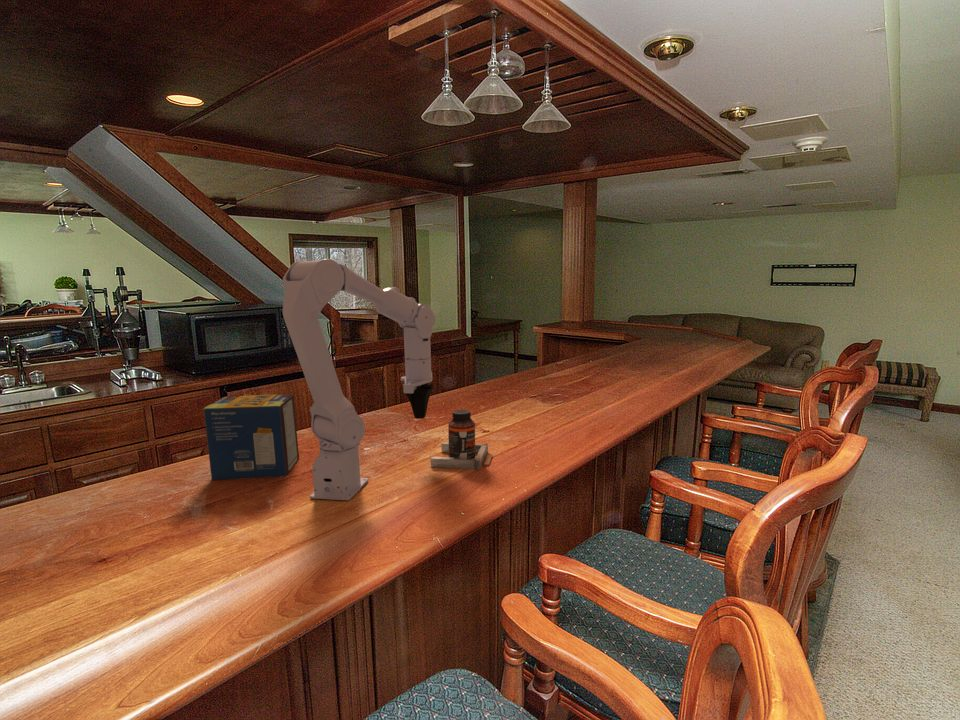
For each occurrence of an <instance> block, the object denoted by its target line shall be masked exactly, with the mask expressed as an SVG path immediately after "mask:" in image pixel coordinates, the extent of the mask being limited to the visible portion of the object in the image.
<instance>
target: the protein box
mask: <svg viewBox="0 0 960 720" xmlns="http://www.w3.org/2000/svg"><path fill="white" fill-rule="evenodd" d="M202 410H203V415H204V424H205V433H206V441H207V442H206V443H207V451H208V459H209V467H210V477H211V481H218V480H221V481H222V480H238V479H239V480H240V478H243V479H257V478H258V479H259V478H260V477H262V478H279V477H280V476H282V477H286V476H287V475H288V474H289V473H290V472H291V470H292V469H293V468H294V466H295V465H296V464H297V462H298V460H300V453H299V443H298V432H297V421H296V411H295V400H294V394H293V393H282V394H281V393H280V394H260V395H259V394H254V395H235V396H234V395H233V396H232V395H231V396H229V395H228V396H222V397H221V398H219V399H217V400H216V401H214V402H213V403H211V404H209V405H207V406H205V407H204V408H203V409H202Z"/></svg>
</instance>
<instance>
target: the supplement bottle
mask: <svg viewBox="0 0 960 720" xmlns="http://www.w3.org/2000/svg"><path fill="white" fill-rule="evenodd" d="M471 414H472V413H471V411H470V410H469V409H455V410H453V411H452V417H451V418H452V419H451V420H449V422H448V429H447V430H448V431H447V432H448V442H449V452H448V457H453V458H476V453H475V443H476V423H475V421H474V420H472V418H471V417H472V415H471Z"/></svg>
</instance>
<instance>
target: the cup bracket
mask: <svg viewBox="0 0 960 720" xmlns="http://www.w3.org/2000/svg"><path fill="white" fill-rule="evenodd" d="M440 445H441V453H449V441H442V442H441V444H440ZM488 445H489V444H488V443H479V442H477V443H476V442H475V454H476V455H475V458H453V457H449V456H431V457H430V468H434V467H444V468H443V469H455V468H459V469H460V470H461V469H462V470H479V471H480V470H481V468H482V466H488V467H489V466H490V464H491V462H492V459H493V456H494V455H493V454H488V453H489V451H488V450H489V446H488Z"/></svg>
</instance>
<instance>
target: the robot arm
mask: <svg viewBox="0 0 960 720" xmlns="http://www.w3.org/2000/svg"><path fill="white" fill-rule="evenodd" d="M282 281H283V285H284V293H283V294H284V296H283V303H282V316H283V320H284V323H285V326H286V328H287V331H288V334H289V336H290V339H291V342H292V345H293V347H294V348H293V349H294V350H295V352H296V355H297V358H298V359H297V360H298V361H299V365H300V367H301V369H302V373H303V376H304V378H305V381H306V383H307V386H308V390H309V393H310V394H311V397H312V400H313V403H312V405H311V406H310V407H309V412H310V416H311V422H310V425H311V427H310V428H311V432H312V433H313V434H314V436H315V437H317V438H318V439H317V440H318V444H319V453H318V456H317V457H316V458H315V460H314V461H313V464H312V466H311V467H312V469H311V470H312V481H313V482H312V483H313V492H312V493H311V494H310V495H309V499H317V500H320V499H321V500H334V501H335V500H336V501H337V500H338V501H350V500H351V499H352V498H354V496H355V495H356V494H357V493H358V492H359V491H360V490H361V488H363V487H364V486H365V485H366V484H367V483H368V482H369V478H368V477H361V467H360V450H359V447H360V446H361V445H360V444H361V441H362V439H363V437H364V435H365V431H366V425H365V422H364V420H363V418H362V417H361V416H359V414H358V413H357V411H356V408H355V406H354V405H353V403H351V401H349V399H347V397H345V395H344V392H343V389H342V387H341V384H340V381H339V378H338V375H337V371H336V368H335V366H334V363H333V360H332V358H331V357H332V356H331V354H330V351H329V348H328V346H327V342H326V340H325V336H324V333H323V330H322V328H321V323H320V322H319V321H320V320H319V316H320V313H321V311H323V308H324V307H325V306H326V305H328V303H329V302H331V300H332V299H334V298H335V297H336V296H337V295H338V294H339V292H342V291H343V292H346V293H348V294H349V295H350V294H351V295H352V296H355V297H357V298H359V299H362V300H364V301H366V302H369V303H371V304H372V305H374V309H375V311H376V312H377V313H378V314H380V315H382V316H384V317H386V318H388V319H391V320H392V321H394V322H396V323H397V324H398V325H399V327H400V328H401V329H403V344H404V370H405V372H404V373H405V375H404V376H401V377H400V381H401V382H404V383H403V384H402V385H403V386H402V387H403V389H402V390H403V394H405V395H406V397H407V398H408V401H409V403H410V406H411V411H412V413H413V416H414V417H413V418H414V419H425V418H426V415H427V410H428V404H429V399H430V397H431V394H432V392H433V389H434V384H430V383H431V382H432V381H433V371H432V353H431V352H432V350H431V346H432V345H431V337H432V335H433V327H434V325H435V324H436V323H435V322H436V318H437V317H436V315H435V314H434V313H435V312H434V311H433V309H432V308H431V307H430V305H428V304H426V303H418V302H417V301H416V298H414V297H413V296H412V297H408V296H407V295H405V294H403V293H402V292H400V291H401V289H400V288H398V287H385V288H383V289H382V288H380V287H379V286H377V285H375V284H374V283H372V282H371V281H369V280H367V279H366V278H364V277H362V276H361V275H359V274H358V273H356V272H355V271H354V270H353V271H352V270H351V269H350V268H349V267H348V266H346V265H345V264H341V263H338V262H337V261H335V260H333V259H330V258H324V259H320V260H319V259H318V260H297V261H295V262H293V263H292V264H291V265H290V266H289V267H288V269H287V270H286V272H285V273H284V276H283V277H282Z"/></svg>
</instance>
